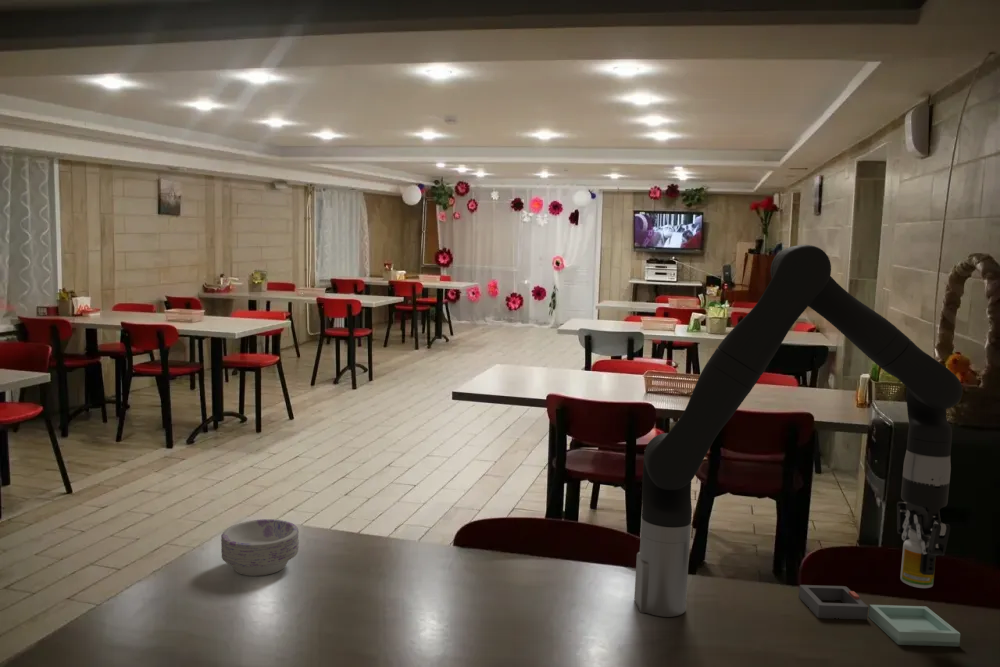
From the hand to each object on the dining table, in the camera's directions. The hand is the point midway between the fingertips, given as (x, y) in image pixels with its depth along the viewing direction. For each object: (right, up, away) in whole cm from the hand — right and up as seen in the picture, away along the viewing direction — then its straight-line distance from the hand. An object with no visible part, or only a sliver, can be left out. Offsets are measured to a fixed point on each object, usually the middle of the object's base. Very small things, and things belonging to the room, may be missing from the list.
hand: (917, 567), depth 146 cm
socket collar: (-12, -11, +10) cm, 19 cm away
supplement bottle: (0, -3, 0) cm, 3 cm away
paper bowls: (-126, -6, +18) cm, 127 cm away
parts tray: (0, -12, +1) cm, 12 cm away
